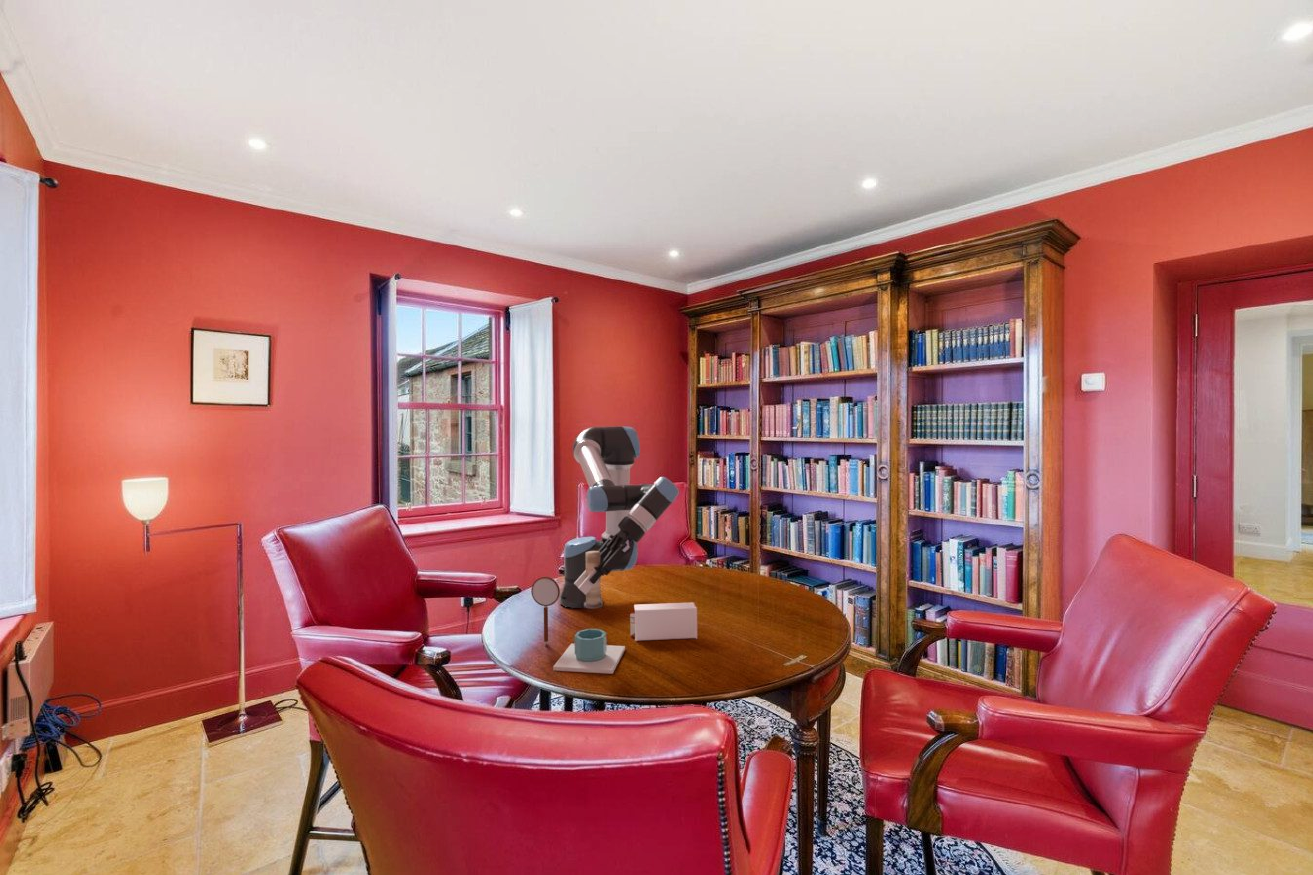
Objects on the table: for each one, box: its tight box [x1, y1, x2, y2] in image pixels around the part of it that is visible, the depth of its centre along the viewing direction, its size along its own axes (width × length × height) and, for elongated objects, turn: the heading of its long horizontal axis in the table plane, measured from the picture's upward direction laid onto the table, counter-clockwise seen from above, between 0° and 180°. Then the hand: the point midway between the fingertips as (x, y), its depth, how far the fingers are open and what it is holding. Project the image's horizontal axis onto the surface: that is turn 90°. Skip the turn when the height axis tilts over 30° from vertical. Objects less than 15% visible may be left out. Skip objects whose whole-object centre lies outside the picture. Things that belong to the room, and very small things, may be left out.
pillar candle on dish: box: [584, 551, 604, 609], centre depth 152 cm, size 5×5×15 cm
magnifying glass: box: [531, 576, 561, 645], centre depth 164 cm, size 9×2×20 cm, turn 82°
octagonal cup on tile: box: [552, 628, 626, 675], centre depth 152 cm, size 16×16×7 cm
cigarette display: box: [629, 602, 698, 642], centre depth 169 cm, size 20×6×9 cm, turn 95°
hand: (579, 588), depth 151 cm, fingers closed on pillar candle on dish, 4 cm apart
